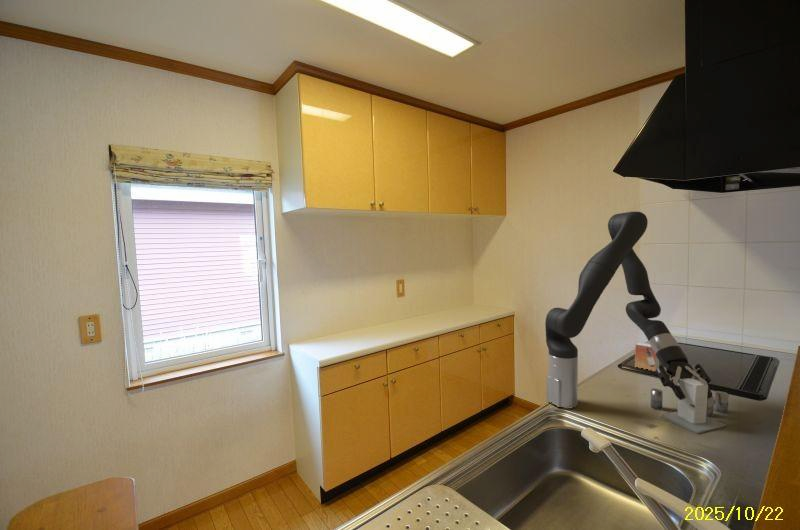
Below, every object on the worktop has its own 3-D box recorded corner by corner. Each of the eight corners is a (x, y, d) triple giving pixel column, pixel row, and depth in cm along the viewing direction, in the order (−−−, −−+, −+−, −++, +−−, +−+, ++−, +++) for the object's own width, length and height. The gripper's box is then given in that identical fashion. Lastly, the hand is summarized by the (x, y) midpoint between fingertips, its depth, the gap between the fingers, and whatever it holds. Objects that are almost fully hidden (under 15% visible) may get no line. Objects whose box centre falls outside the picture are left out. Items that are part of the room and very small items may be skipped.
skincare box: (676, 415, 116) (677, 377, 115) (689, 414, 116) (690, 377, 115) (694, 424, 109) (695, 385, 109) (707, 423, 110) (708, 384, 109)
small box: (634, 367, 161) (634, 344, 160) (638, 364, 165) (638, 341, 164) (656, 372, 155) (656, 347, 155) (659, 368, 159) (659, 345, 158)
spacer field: (686, 423, 112) (686, 404, 111) (648, 406, 123) (648, 389, 123) (732, 411, 118) (733, 393, 118) (692, 397, 130) (692, 380, 130)
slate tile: (697, 433, 106) (697, 431, 106) (660, 416, 116) (660, 415, 116) (725, 426, 109) (725, 424, 109) (686, 410, 120) (686, 409, 120)
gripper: (653, 345, 118) (681, 394, 108) (694, 343, 119) (727, 392, 108) (641, 356, 124) (666, 404, 113) (681, 354, 125) (710, 402, 114)
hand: (696, 398), depth 111 cm, fingers open, 8 cm apart
